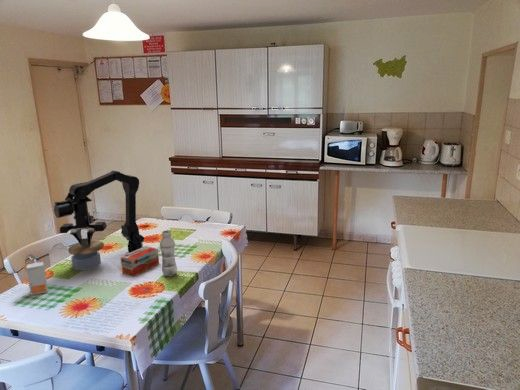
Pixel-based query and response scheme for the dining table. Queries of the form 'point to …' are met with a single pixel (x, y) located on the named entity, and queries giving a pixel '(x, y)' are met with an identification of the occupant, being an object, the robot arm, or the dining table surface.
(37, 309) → the dining table surface
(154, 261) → the red printed carton
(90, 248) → the walnut lid
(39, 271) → the skincare box
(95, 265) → the slate bowl
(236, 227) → the dining table surface
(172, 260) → the plastic bottle
